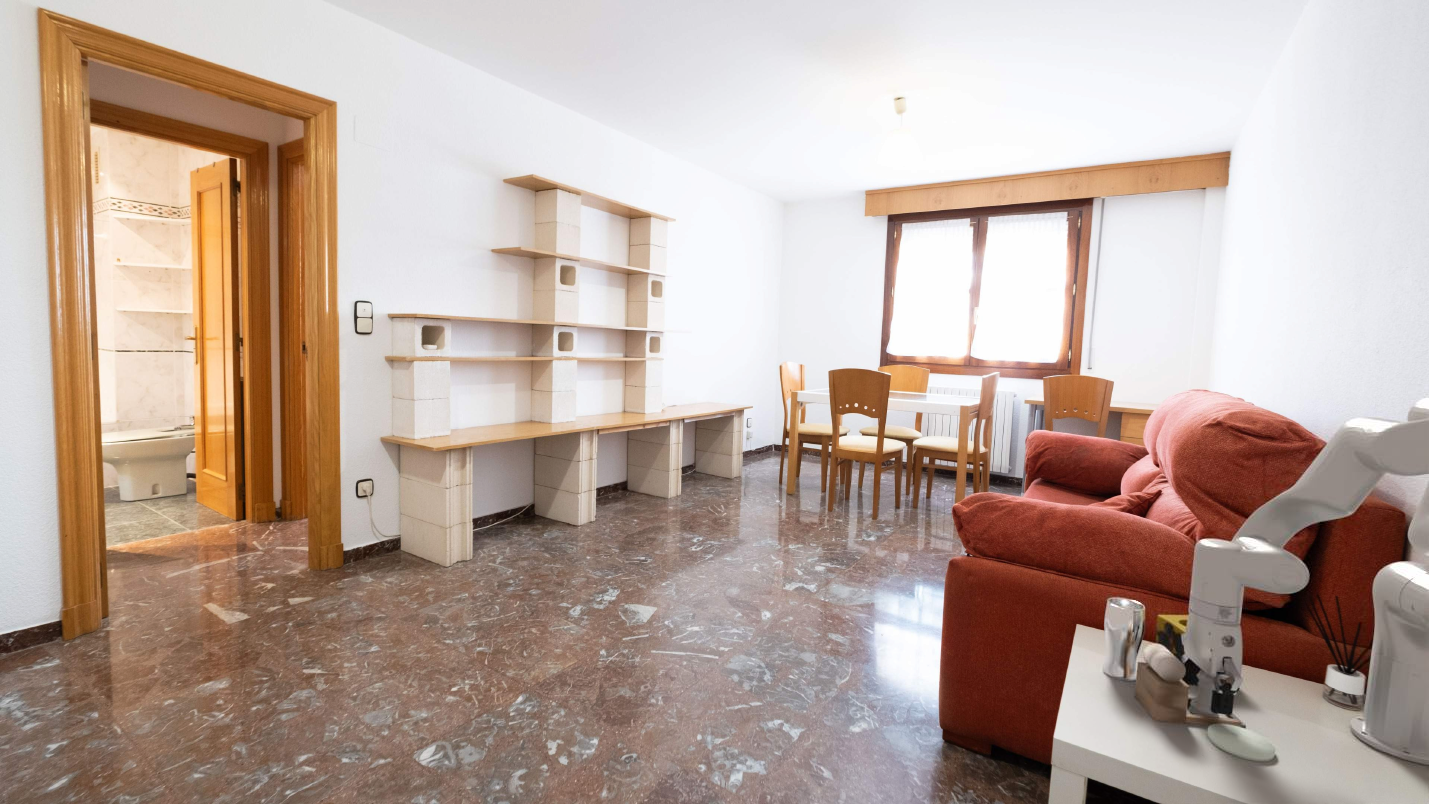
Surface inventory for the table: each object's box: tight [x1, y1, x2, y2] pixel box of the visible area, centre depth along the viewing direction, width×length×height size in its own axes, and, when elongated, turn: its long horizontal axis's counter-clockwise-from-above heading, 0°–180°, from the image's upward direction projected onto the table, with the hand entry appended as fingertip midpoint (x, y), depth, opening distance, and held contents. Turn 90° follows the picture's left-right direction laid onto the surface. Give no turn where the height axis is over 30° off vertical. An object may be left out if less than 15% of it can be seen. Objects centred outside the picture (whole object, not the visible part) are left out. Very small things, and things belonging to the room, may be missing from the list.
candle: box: [1155, 614, 1227, 683], centre depth 137 cm, size 10×10×10 cm
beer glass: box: [1102, 596, 1146, 682], centre depth 135 cm, size 7×7×15 cm
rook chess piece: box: [1188, 670, 1220, 717], centre depth 121 cm, size 4×4×8 cm
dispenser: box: [1134, 643, 1247, 729], centre depth 121 cm, size 15×8×11 cm, turn 80°
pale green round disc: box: [1206, 724, 1276, 763], centre depth 112 cm, size 9×9×1 cm
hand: (1205, 698), depth 121 cm, fingers open, 9 cm apart
